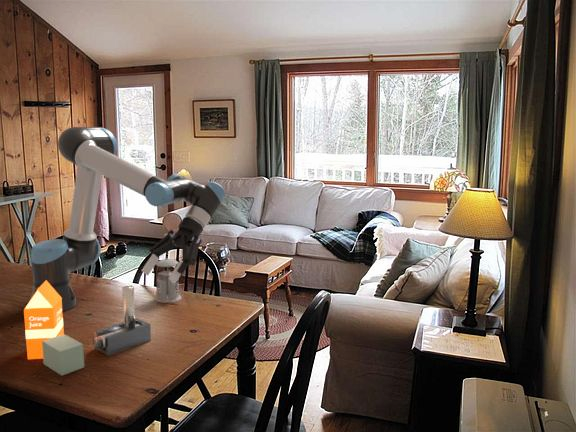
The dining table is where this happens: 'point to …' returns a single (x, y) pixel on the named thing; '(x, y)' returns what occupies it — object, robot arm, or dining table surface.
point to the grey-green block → (63, 354)
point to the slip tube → (128, 317)
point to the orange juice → (42, 319)
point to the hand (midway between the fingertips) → (157, 277)
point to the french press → (166, 283)
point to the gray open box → (124, 337)
